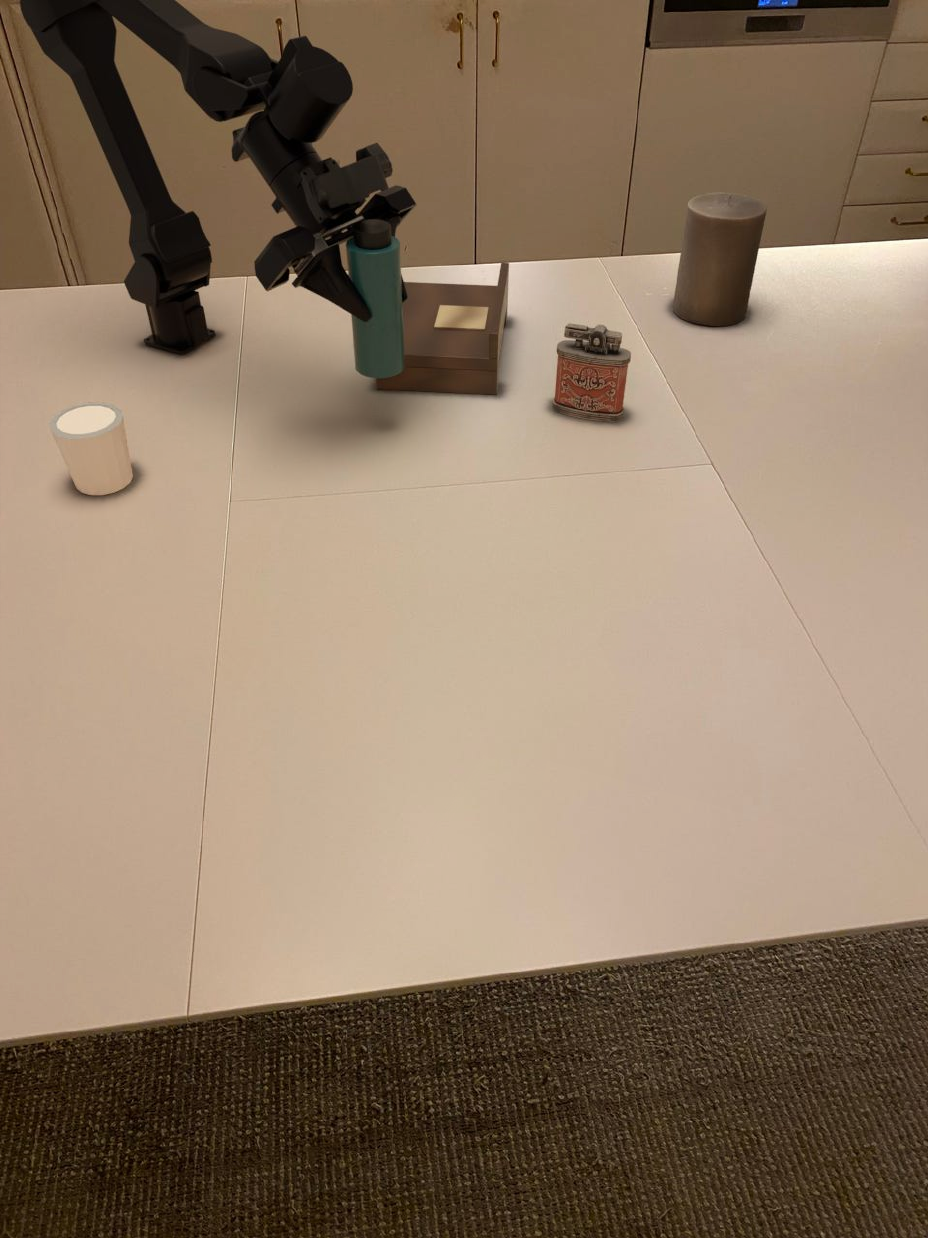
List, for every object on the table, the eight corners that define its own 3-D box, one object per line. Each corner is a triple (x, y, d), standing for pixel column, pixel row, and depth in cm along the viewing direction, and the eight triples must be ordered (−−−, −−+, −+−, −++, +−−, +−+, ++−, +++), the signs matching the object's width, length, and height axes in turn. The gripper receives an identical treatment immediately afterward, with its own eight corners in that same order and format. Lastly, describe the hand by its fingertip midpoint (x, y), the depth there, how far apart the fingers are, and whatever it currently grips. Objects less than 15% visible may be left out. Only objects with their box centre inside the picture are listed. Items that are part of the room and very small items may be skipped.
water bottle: (352, 377, 99) (340, 235, 89) (358, 354, 102) (348, 215, 93) (402, 379, 98) (396, 236, 89) (406, 355, 102) (401, 216, 92)
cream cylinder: (120, 502, 94) (101, 441, 89) (56, 494, 95) (34, 433, 90) (150, 465, 99) (135, 404, 94) (89, 457, 100) (71, 397, 95)
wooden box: (376, 388, 111) (372, 327, 106) (401, 314, 125) (398, 258, 120) (496, 394, 110) (498, 333, 105) (507, 319, 125) (509, 262, 119)
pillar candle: (758, 322, 124) (784, 203, 114) (688, 330, 122) (708, 210, 112) (726, 292, 131) (748, 177, 121) (660, 299, 129) (676, 183, 119)
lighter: (626, 410, 107) (637, 325, 101) (619, 424, 105) (630, 339, 98) (556, 398, 109) (563, 315, 102) (549, 412, 107) (555, 328, 100)
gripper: (258, 143, 81) (365, 301, 84) (398, 96, 92) (488, 238, 95) (211, 217, 90) (308, 359, 92) (343, 166, 101) (427, 294, 103)
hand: (386, 310), depth 95 cm, fingers closed on water bottle, 5 cm apart
